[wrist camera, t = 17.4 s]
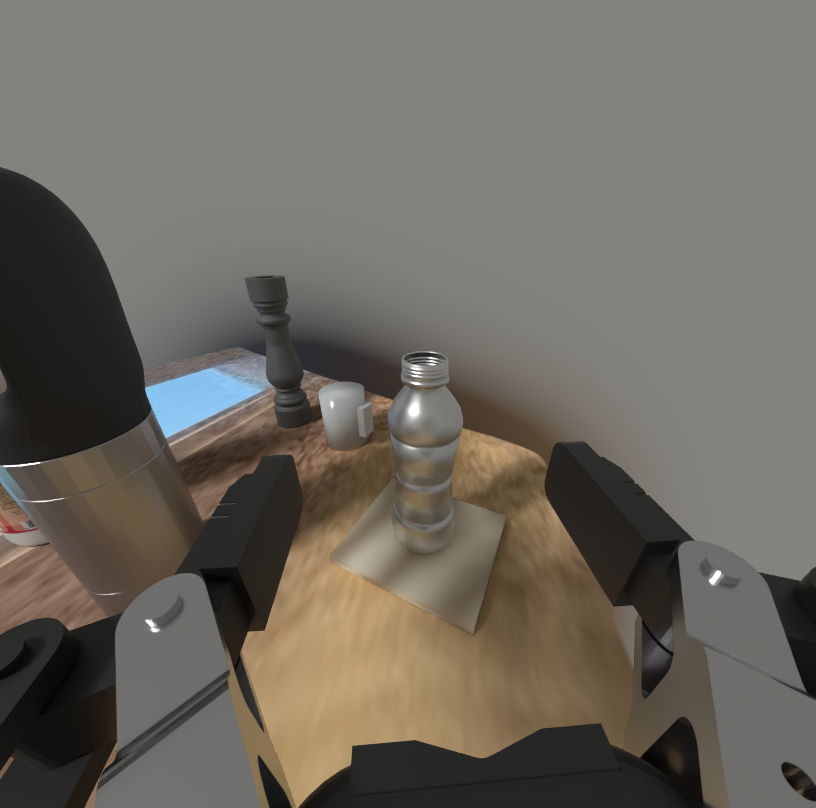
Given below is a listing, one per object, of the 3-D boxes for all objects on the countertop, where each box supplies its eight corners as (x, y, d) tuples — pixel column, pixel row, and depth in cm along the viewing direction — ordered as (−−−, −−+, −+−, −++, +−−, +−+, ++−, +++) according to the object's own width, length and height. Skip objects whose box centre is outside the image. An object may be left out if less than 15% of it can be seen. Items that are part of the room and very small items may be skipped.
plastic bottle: (421, 503, 38) (422, 341, 28) (466, 536, 33) (485, 358, 24) (379, 534, 34) (365, 358, 25) (425, 576, 29) (427, 381, 20)
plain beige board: (331, 562, 32) (329, 554, 32) (393, 484, 42) (392, 477, 42) (473, 634, 26) (474, 626, 25) (505, 523, 36) (506, 515, 36)
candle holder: (276, 430, 55) (238, 280, 44) (279, 414, 61) (246, 276, 49) (312, 424, 57) (285, 278, 45) (311, 409, 62) (287, 274, 51)
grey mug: (317, 444, 51) (308, 395, 47) (343, 424, 57) (337, 379, 53) (358, 457, 48) (352, 405, 44) (382, 435, 54) (379, 387, 49)
